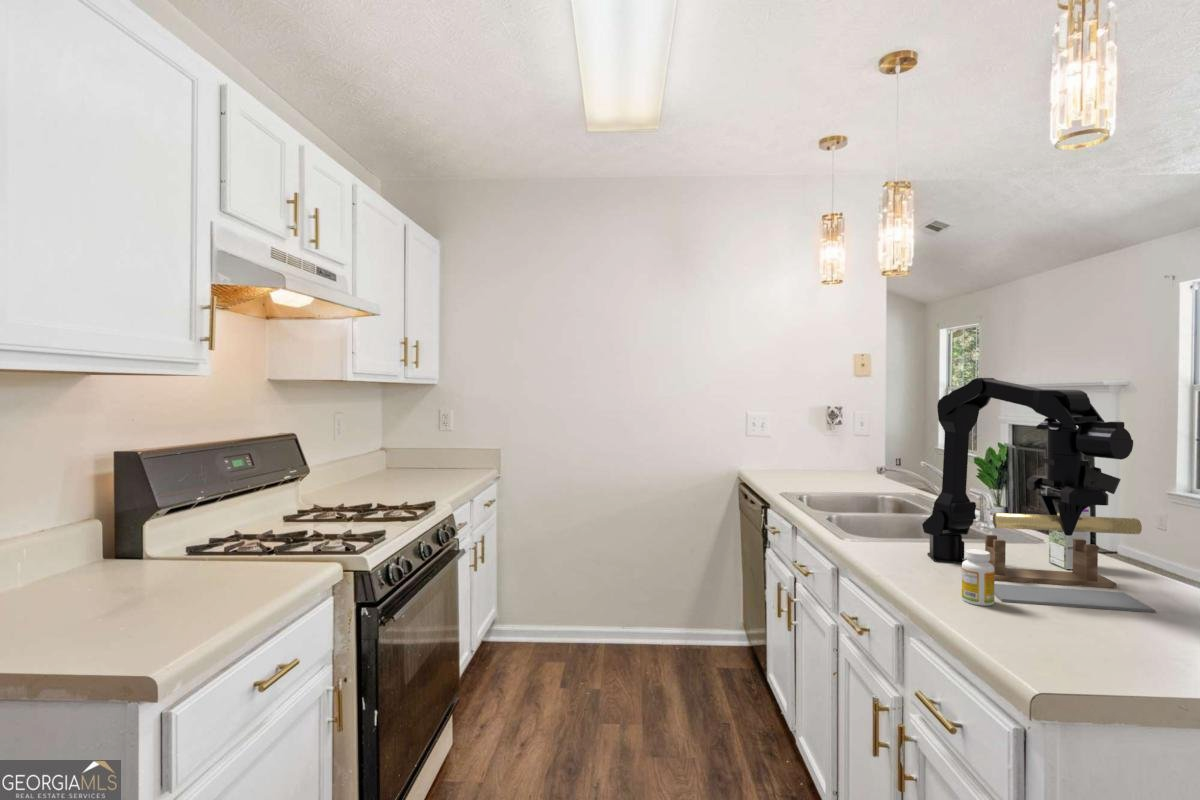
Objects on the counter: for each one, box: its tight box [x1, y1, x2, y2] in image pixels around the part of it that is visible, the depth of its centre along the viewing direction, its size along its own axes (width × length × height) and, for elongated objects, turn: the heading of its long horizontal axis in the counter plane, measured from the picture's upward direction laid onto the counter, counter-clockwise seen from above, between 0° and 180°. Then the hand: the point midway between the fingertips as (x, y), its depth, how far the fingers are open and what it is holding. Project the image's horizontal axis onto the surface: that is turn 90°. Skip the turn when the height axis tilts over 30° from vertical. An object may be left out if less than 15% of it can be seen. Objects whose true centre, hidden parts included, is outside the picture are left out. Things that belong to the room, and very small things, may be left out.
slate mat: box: [994, 583, 1157, 613], centre depth 120 cm, size 25×10×1 cm, turn 76°
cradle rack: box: [984, 534, 1117, 588], centre depth 132 cm, size 25×7×8 cm, turn 76°
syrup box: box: [1048, 506, 1091, 570], centre depth 141 cm, size 6×6×14 cm
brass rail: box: [992, 512, 1143, 535], centre depth 120 cm, size 24×3×3 cm, turn 76°
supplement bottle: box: [961, 548, 995, 607], centre depth 118 cm, size 5×5×10 cm
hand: (1064, 533), depth 120 cm, fingers closed on brass rail, 3 cm apart
